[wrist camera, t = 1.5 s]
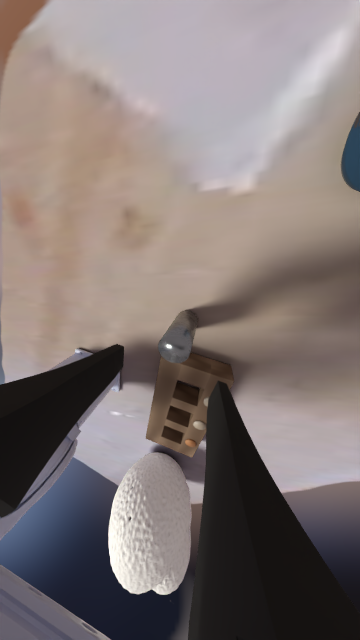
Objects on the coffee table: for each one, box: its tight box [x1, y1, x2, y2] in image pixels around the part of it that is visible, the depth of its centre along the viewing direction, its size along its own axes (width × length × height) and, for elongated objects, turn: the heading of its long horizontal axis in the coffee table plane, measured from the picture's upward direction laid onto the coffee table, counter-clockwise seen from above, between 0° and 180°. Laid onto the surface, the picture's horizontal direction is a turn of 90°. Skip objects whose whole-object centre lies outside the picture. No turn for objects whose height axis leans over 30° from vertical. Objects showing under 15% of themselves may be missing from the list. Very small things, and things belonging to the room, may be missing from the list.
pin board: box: [146, 353, 234, 457], centre depth 23 cm, size 10×22×3 cm, turn 168°
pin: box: [158, 310, 198, 363], centre depth 15 cm, size 3×3×7 cm
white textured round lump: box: [108, 452, 192, 595], centre depth 27 cm, size 20×18×16 cm
